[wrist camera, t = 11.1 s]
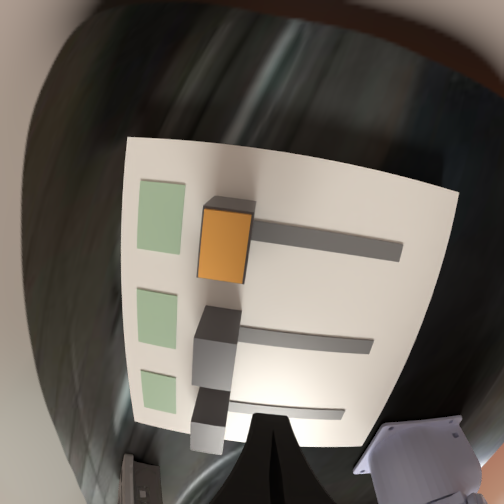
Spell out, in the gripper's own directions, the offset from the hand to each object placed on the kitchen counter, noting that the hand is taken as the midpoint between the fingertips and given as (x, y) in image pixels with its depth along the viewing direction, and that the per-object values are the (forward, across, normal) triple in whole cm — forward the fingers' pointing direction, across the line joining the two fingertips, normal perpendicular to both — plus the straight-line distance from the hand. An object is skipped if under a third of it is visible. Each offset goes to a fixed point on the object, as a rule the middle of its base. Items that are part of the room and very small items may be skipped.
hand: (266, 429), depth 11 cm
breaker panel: (+9, 0, 0) cm, 9 cm away
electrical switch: (+9, +9, +23) cm, 26 cm away
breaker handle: (+6, +3, -6) cm, 9 cm away
